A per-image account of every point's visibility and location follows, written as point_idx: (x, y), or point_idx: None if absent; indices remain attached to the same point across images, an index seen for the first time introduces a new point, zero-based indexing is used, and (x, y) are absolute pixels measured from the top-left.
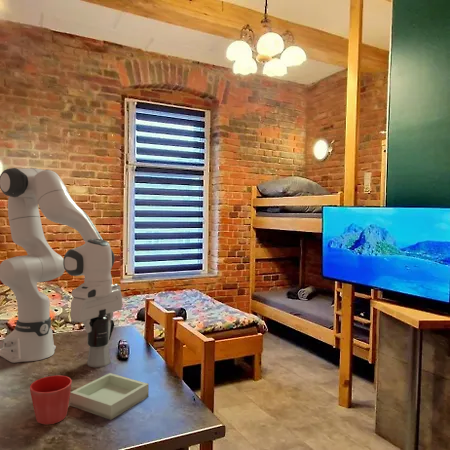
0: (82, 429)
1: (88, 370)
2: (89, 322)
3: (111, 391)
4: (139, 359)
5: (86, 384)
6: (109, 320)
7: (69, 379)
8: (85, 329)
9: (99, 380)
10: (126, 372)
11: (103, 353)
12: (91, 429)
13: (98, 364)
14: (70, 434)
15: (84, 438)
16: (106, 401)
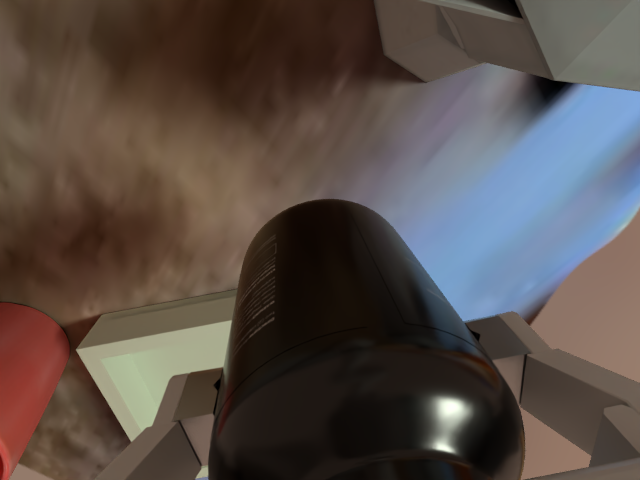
0: (84, 437)
1: (334, 60)
2: (208, 469)
3: None
4: (581, 147)
5: (163, 334)
6: (526, 409)
7: (3, 464)
8: (165, 394)
9: (227, 334)
10: (426, 227)
11: (456, 68)
12: (105, 448)
13: (403, 60)
14: (47, 438)
15: (74, 466)
16: None
